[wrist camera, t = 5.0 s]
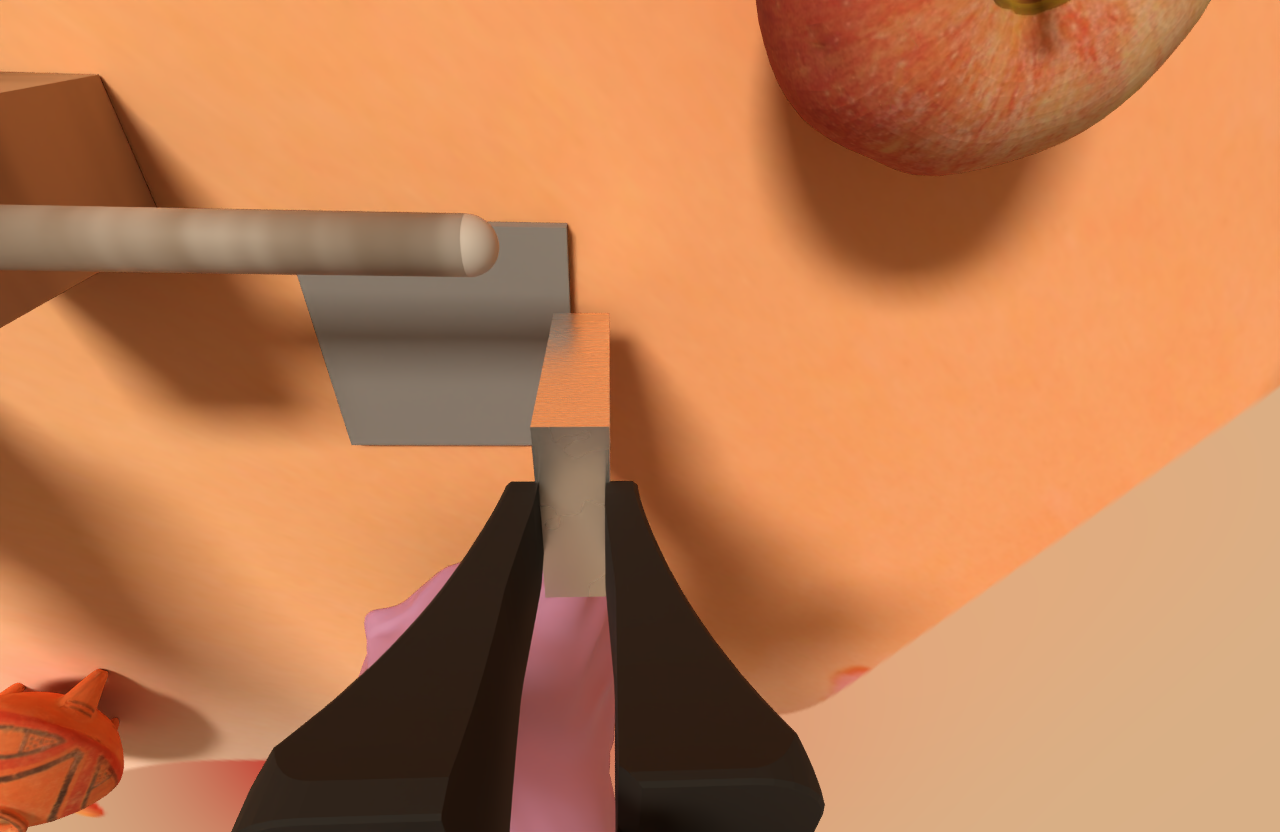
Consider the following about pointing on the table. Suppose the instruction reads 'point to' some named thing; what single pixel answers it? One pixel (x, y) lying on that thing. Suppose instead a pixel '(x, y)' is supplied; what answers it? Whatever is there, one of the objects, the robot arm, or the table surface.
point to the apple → (965, 71)
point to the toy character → (546, 709)
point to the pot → (55, 753)
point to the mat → (444, 344)
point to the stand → (174, 212)
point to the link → (573, 453)
